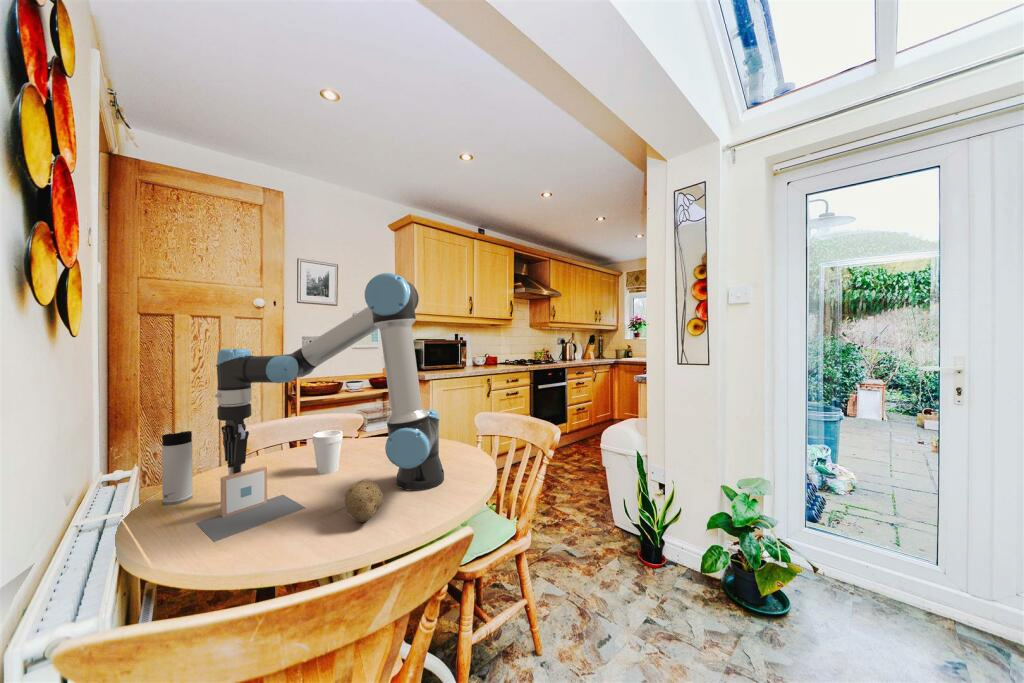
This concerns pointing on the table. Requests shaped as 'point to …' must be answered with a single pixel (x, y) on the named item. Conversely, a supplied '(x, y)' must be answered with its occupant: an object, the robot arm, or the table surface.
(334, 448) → the foam cup
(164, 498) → the travel mug
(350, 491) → the natural sponge
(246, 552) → the table surface
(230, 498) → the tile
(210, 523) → the felt mat
